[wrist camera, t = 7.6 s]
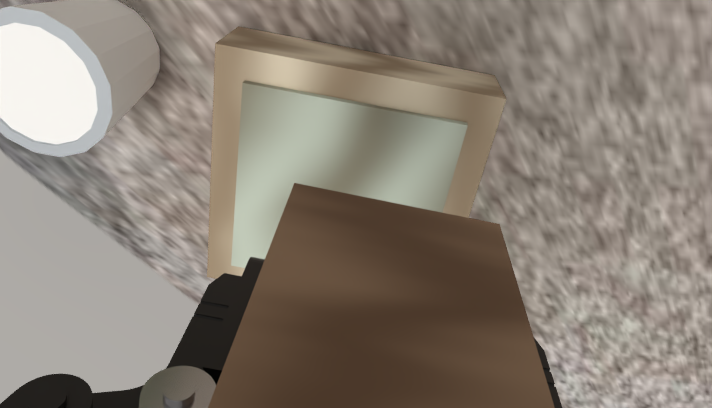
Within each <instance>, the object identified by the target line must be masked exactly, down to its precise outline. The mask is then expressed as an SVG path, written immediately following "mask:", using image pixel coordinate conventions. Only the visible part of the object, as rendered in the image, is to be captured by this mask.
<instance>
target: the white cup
mask: <svg viewBox="0 0 712 408" xmlns="http://www.w3.org/2000/svg"><path fill="white" fill-rule="evenodd" d="M159 70H160V49H159V46H158V44H157V41H156V39H155V36H154V34H153V32H152V29H151V28H150V27H149V26H148V24H147V23H146V22H145V21H144V20H143V19H142V17H141V16H140V15H139V14H138V13H137V12H136V11H134V10H133V9H131V8H129V7H128V6H126V5H124V4H123V3H121V2H119V1H118V0H63V1H54V2H45V3H36V4H26V5H17V6H9V7H6V8H2V9H0V132H1V133H2V134H3V135H4V136H5V137H6V138H8V139H10V140H12V141H14V142H15V143H17V144H19V145H21V146H23V147H25V148H27V149H29V150H31V151H33V152H36V153H42V154H47V155H53V156H59V157H63V156H68V155H73V154H78V153H83V152H86V151H87V150H88V149H90V148H91V147H92V146H93V145H95V144H96V143H97V142H98V141H99V140H101V139H102V138H103V137H104V136H105V135H106V134H107V133H108V132H109V131H110V130H111V129H112V128H113V127H114V126H115V125H116V124H117V122H118V121H119V120H120V119H121V118H122V117H123V116H124V115H125V114H126V113H127V112H128V111H129V110H130V109H131V108H132V107H133V106H134V105H135V104H136V102H137V101H138V100H139V99H140V98H141V97H142V96H143V95H144V94H145V93H146V92H147V91H148V90H149V89H150V88H151V87H152V86H153V85H154V82H155V80H156V77H157V75H158V73H159Z"/></svg>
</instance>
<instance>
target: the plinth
mask: <svg viewBox="0 0 712 408" xmlns="http://www.w3.org/2000/svg"><path fill="white" fill-rule="evenodd" d="M505 102H506V97H505V95H504V93H503V91H502V89H501V87H500V85H499V83H498V81H497V79H496V77H495V75H490V74H484V73H479V72H474V71H469V70H463V69H458V68H453V67H448V66H442V65H437V64H432V63H427V62H422V61H416V60H411V59H406V58H401V57H395V56H390V55H385V54H380V53H374V52H369V51H364V50H359V49H353V48H348V47H343V46H338V45H333V44H327V43H322V42H317V41H312V40H306V39H301V38H296V37H291V36H285V35H280V34H275V33H270V32H265V31H259V30H254V29H249V28H244V27H237V28H236V29H235V30H233V31H232V32H230V33H229V34H228V35H226V36H225V37H224V38H222V39H221V40H219V41H218V42H217V43H215V67H214V95H213V124H212V153H211V182H210V210H209V239H208V268H207V277H211V278H216V279H217V278H218V277H220V276H221V275H222V274H224V273H227V274H232V275H237V276H242V274H243V272H244V270H245V267H246V265H247V263H248V260H249V258H250V257H255V258H260V259H265V258H266V255H267V253H268V250H269V247H270V245H271V242H272V240H273V237H274V234H275V232H276V229H277V227H278V224H279V221H280V219H281V216H282V214H283V211H284V208H285V206H286V203H287V201H288V198H289V195H290V193H291V190H292V188H293V185H294V183H298V184H303V185H308V186H313V187H318V188H323V189H328V190H333V191H338V192H343V193H348V194H353V195H358V196H362V197H367V198H372V199H377V200H382V201H387V202H392V203H397V204H402V205H407V206H412V207H417V208H422V209H427V210H432V211H437V212H442V213H447V214H452V215H457V216H462V217H467V218H469V215H470V211H471V208H472V205H473V202H474V199H475V196H476V193H477V190H478V186H479V183H480V180H481V177H482V174H483V171H484V168H485V165H486V162H487V158H488V155H489V152H490V149H491V146H492V143H493V140H494V137H495V134H496V130H497V127H498V124H499V121H500V118H501V115H502V112H503V109H504V105H505Z"/></svg>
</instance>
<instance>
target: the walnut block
mask: <svg viewBox="0 0 712 408" xmlns="http://www.w3.org/2000/svg"><path fill="white" fill-rule="evenodd" d="M208 408H555V407H554V404H553V400H552V397H551V394H550V390H549V387H548V384H547V380H546V377H545V374H544V371H543V367H542V364H541V361H540V357H539V354H538V351H537V347H536V344H535V341H534V337H533V334H532V331H531V327H530V324H529V321H528V317H527V314H526V311H525V307H524V304H523V301H522V297H521V294H520V291H519V288H518V284H517V281H516V278H515V274H514V271H513V268H512V264H511V261H510V258H509V254H508V251H507V248H506V244H505V241H504V238H503V234H502V231H501V228H500V224H496V223H491V222H486V221H481V220H476V219H471V218H467V217H462V216H457V215H452V214H447V213H442V212H437V211H432V210H427V209H422V208H417V207H412V206H407V205H402V204H397V203H392V202H387V201H382V200H377V199H372V198H367V197H362V196H358V195H353V194H348V193H343V192H338V191H333V190H328V189H323V188H318V187H313V186H308V185H303V184H298V183H294V185H293V188H292V190H291V193H290V195H289V198H288V201H287V203H286V206H285V208H284V211H283V214H282V216H281V219H280V221H279V224H278V227H277V229H276V232H275V234H274V237H273V240H272V242H271V245H270V247H269V250H268V253H267V255H266V258H265V260H264V263H263V266H262V268H261V271H260V273H259V276H258V279H257V281H256V284H255V286H254V289H253V292H252V294H251V297H250V299H249V302H248V305H247V307H246V310H245V313H244V315H243V318H242V320H241V323H240V326H239V328H238V331H237V333H236V336H235V339H234V341H233V344H232V346H231V349H230V352H229V354H228V357H227V359H226V362H225V365H224V367H223V370H222V372H221V375H220V378H219V380H218V383H217V385H216V388H215V391H214V393H213V396H212V398H211V401H210V404H209V406H208Z"/></svg>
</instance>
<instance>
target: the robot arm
mask: <svg viewBox="0 0 712 408" xmlns="http://www.w3.org/2000/svg"><path fill="white" fill-rule="evenodd" d="M264 260H265V259H260V258H255V257H250V258H249V260H248V263H247V265H246V267H245V270H244V272H243V274H242V276H237V275H232V274H227V273H224V274H222V275H221V276H220V277H218V278H217V279H216V280H214V281H213V282H212V283H211V284H209V285H208V287H207V289H206V291H205V293H204V295H203V297H202V299H201V303H200V304H199V305H198V307H197V309H196V311H195V313H194V317H192V319H191V321H190V323H189V325H188V327H187V329H186V331H185V333H184V335H183V337H182V339H181V341H180V343H179V345H178V347H177V349H176V351H175V353H174V355H173V357H172V359H171V361H170V363H169V365H168V366H167V368H166V369H164V370H162V371H160V372H158V373H156V374H155V375H153V376H152V377H151V378H150V379H149V380H148V381H147V382H146V383H145V385H143V386H140V387H138V388H134V389H130V390H124V391H112V392H101V393H92V391H91V388H90V386H89V385H88V384H87V383H86V382H85V381H84V380H82V379H81V378H79V377H76V376H73V375H68V374H52V375H46V376H42V377H39V378H36V379H34V380H32V381H30V382H28V383H26V384H25V385H23V386H21V387H20V388H19V389H18V390H16V391H15V392H14V393H13V394H11V395H10V396H9V397H8V398H7V399H6V400H4V401H3V402H2V403H1V404H0V408H208V406H209V404H210V401H211V398H212V396H213V393H214V391H215V388H216V385H217V383H218V380H219V378H220V375H221V372H222V370H223V367H224V365H225V362H226V359H227V357H228V354H229V352H230V349H231V346H232V344H233V341H234V339H235V336H236V333H237V331H238V328H239V326H240V323H241V320H242V318H243V315H244V313H245V310H246V307H247V305H248V302H249V299H250V297H251V294H252V292H253V289H254V286H255V284H256V281H257V279H258V276H259V273H260V271H261V268H262V266H263V263H264ZM534 341H535V344H536V347H537V351H538V354H539V357H540V361H541V364H542V367H543V371H544V374H545V377H546V380H547V384H548V387H549V390H550V394H551V397H552V400H553V404H554V407H555V408H562V406H561V402H560V399H559V396H558V393H557V390H556V387H554V384H555V383H554V380H553V377H552V374H551V372H549V370H550V368H549V364H548V361H547V358H546V355H545V352H544V350H543V349H542V347H541V346H540V345H539V343H538V342H537V341H536V340H535V338H534Z"/></svg>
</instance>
